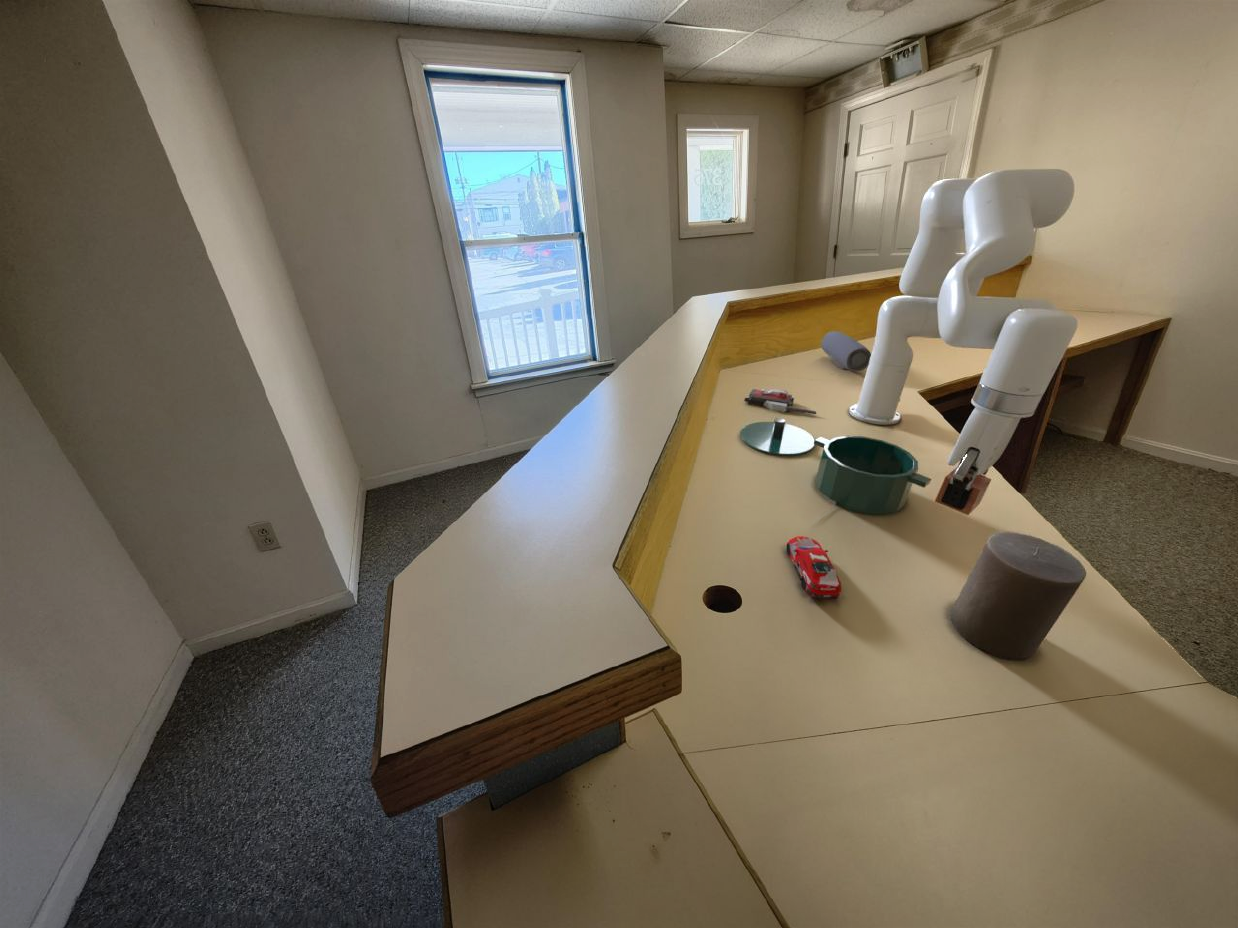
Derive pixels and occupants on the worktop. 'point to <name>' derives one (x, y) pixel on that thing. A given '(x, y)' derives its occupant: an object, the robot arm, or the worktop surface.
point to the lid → (777, 438)
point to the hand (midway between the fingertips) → (958, 498)
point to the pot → (866, 474)
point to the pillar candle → (1015, 594)
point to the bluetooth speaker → (845, 351)
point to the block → (976, 495)
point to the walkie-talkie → (774, 400)
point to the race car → (814, 568)
